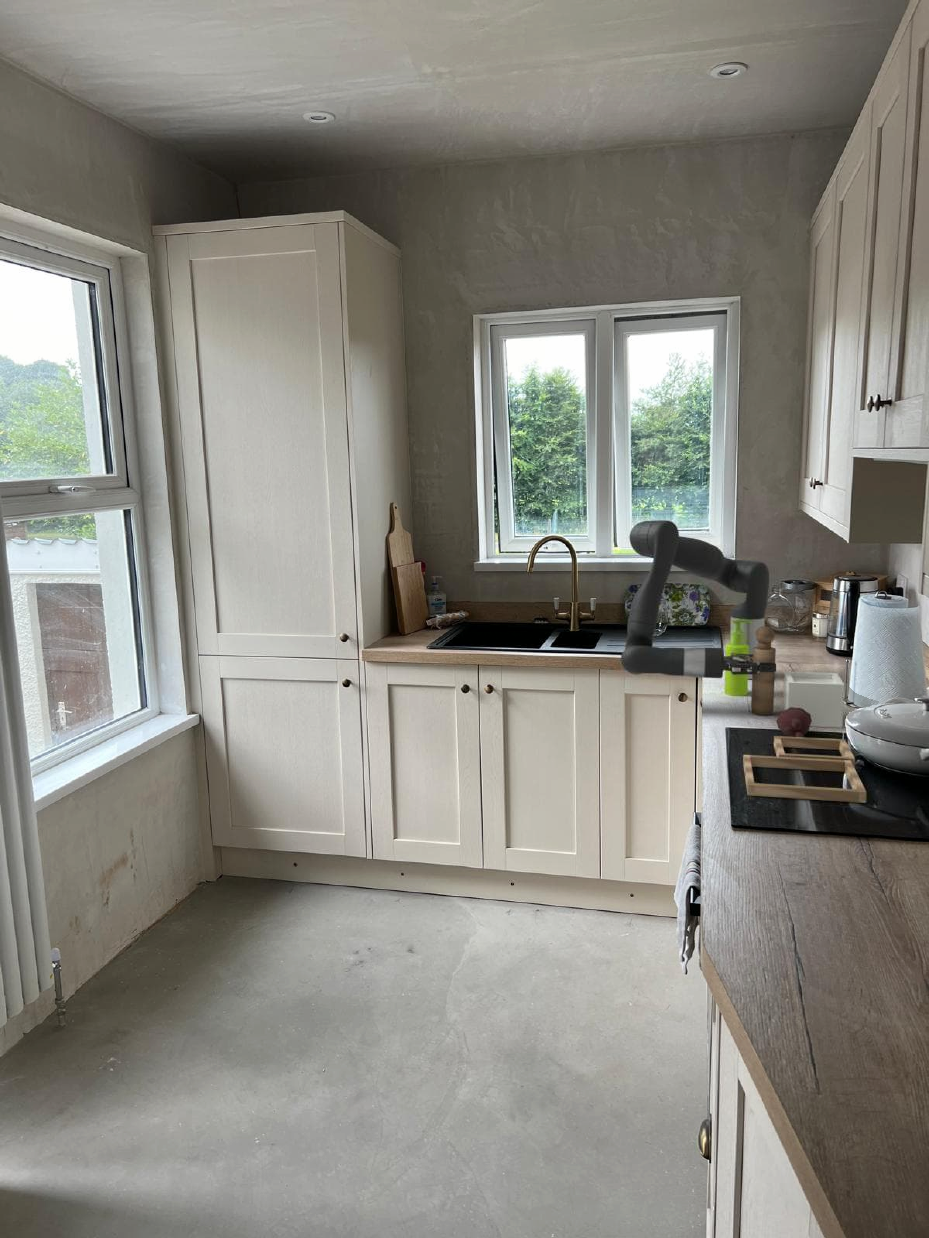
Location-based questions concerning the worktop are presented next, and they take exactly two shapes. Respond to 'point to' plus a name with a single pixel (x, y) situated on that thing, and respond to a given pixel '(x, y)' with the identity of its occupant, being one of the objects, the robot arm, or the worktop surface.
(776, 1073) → the worktop surface
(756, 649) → the pepper mill
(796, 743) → the frame
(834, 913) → the worktop surface
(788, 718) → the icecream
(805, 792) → the frame
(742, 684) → the soap dispenser
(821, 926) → the worktop surface
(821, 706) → the plinth
